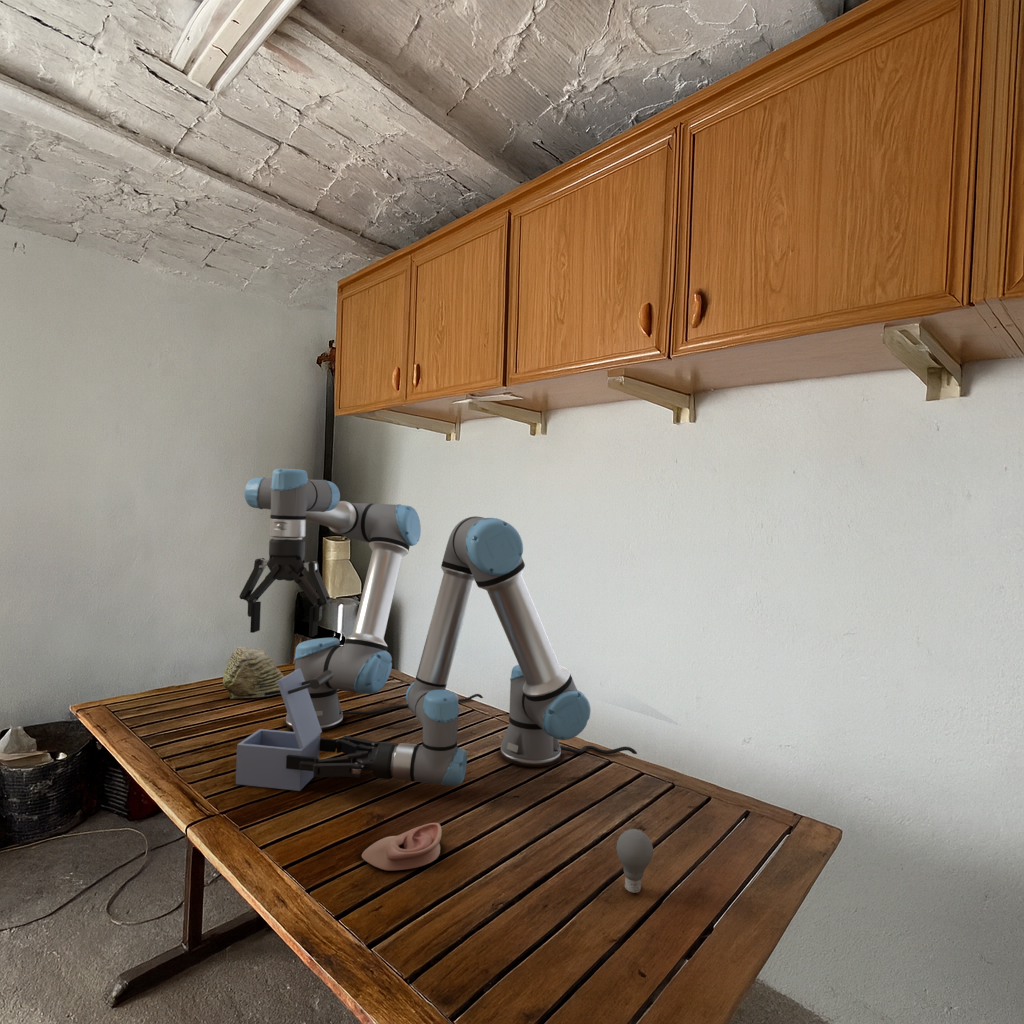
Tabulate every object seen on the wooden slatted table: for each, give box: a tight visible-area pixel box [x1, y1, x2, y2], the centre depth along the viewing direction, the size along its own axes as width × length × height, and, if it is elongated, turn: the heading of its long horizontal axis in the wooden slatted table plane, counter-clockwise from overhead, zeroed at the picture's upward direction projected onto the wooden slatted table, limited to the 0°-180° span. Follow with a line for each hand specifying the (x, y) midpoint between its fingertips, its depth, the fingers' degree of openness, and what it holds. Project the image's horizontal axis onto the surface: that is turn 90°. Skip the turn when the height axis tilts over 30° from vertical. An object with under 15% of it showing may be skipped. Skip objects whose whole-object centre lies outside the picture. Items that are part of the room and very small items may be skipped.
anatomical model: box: [361, 822, 443, 872], centre depth 114 cm, size 13×4×12 cm
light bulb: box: [615, 828, 654, 894], centre depth 106 cm, size 6×6×10 cm
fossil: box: [222, 646, 285, 699], centre depth 198 cm, size 9×18×15 cm, turn 132°
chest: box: [235, 728, 321, 792], centre depth 141 cm, size 15×10×9 cm, turn 83°
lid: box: [277, 669, 333, 749], centre depth 140 cm, size 15×10×8 cm
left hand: (283, 633), depth 141 cm, fingers open, 13 cm apart
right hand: (298, 752), depth 141 cm, fingers closed on chest, 10 cm apart
